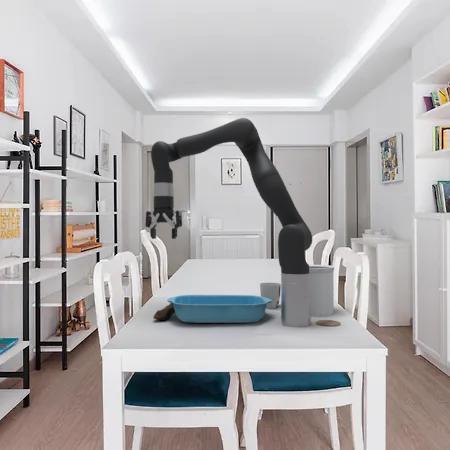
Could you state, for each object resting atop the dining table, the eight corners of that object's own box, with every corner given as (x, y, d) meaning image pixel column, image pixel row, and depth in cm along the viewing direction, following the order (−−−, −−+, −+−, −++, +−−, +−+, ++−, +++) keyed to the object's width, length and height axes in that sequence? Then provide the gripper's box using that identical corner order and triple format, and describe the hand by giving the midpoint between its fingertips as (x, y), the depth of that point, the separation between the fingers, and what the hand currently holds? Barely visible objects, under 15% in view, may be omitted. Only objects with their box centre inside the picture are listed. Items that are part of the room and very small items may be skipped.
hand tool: (171, 300, 162) (182, 300, 161) (171, 310, 162) (183, 310, 161) (151, 309, 144) (164, 309, 143) (151, 321, 144) (164, 321, 143)
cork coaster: (341, 322, 141) (341, 320, 141) (339, 327, 133) (339, 325, 133) (317, 320, 144) (317, 319, 144) (313, 325, 136) (313, 324, 136)
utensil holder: (302, 318, 147) (302, 268, 147) (287, 310, 162) (287, 264, 162) (341, 316, 150) (341, 267, 150) (323, 309, 165) (323, 264, 165)
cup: (282, 311, 160) (282, 285, 160) (260, 311, 160) (260, 285, 160) (279, 307, 168) (279, 282, 168) (259, 307, 168) (259, 282, 168)
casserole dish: (266, 311, 161) (266, 293, 161) (277, 324, 138) (277, 302, 139) (169, 312, 159) (169, 293, 159) (164, 326, 137) (164, 304, 137)
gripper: (185, 195, 159) (185, 238, 159) (152, 197, 164) (152, 238, 164) (176, 194, 152) (176, 239, 152) (141, 195, 157) (141, 238, 157)
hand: (163, 238), depth 158 cm, fingers open, 8 cm apart
